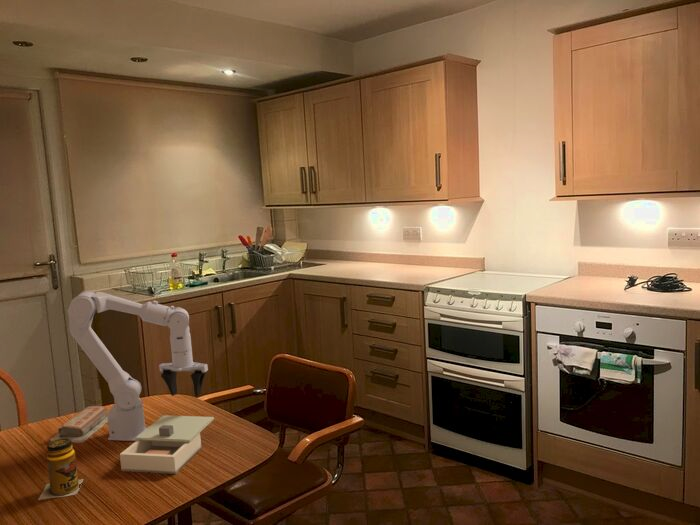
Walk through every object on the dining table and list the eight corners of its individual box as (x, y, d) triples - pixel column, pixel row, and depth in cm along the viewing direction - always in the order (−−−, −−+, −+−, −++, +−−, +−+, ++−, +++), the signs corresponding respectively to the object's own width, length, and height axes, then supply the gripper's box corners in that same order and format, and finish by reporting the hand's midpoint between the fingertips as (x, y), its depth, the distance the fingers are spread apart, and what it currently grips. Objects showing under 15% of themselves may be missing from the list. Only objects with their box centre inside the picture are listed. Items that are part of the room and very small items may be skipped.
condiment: (77, 494, 135) (70, 446, 134) (37, 501, 134) (31, 452, 132) (83, 479, 143) (78, 433, 141) (46, 485, 141) (40, 438, 139)
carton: (121, 471, 146) (119, 454, 145) (151, 445, 159) (149, 430, 159) (175, 474, 143) (174, 456, 142) (201, 448, 156) (200, 432, 156)
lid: (135, 439, 153) (134, 429, 152) (164, 417, 167) (163, 408, 166) (189, 441, 149) (188, 431, 149) (214, 419, 163) (213, 409, 163)
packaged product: (82, 404, 182) (112, 403, 181) (83, 419, 183) (114, 418, 182) (48, 428, 164) (81, 428, 163) (50, 444, 165) (83, 444, 164)
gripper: (151, 353, 165) (156, 399, 167) (197, 354, 162) (202, 400, 164) (164, 346, 172) (169, 390, 174) (209, 347, 169) (213, 391, 171)
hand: (186, 394), depth 169 cm, fingers open, 7 cm apart
